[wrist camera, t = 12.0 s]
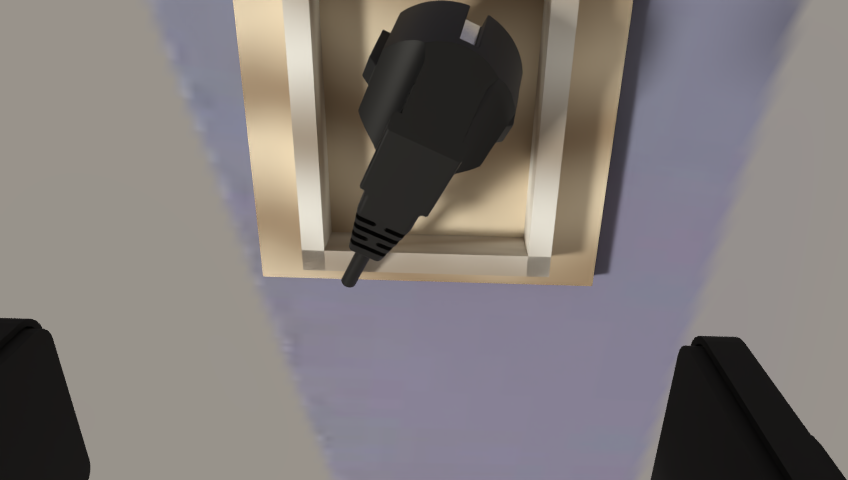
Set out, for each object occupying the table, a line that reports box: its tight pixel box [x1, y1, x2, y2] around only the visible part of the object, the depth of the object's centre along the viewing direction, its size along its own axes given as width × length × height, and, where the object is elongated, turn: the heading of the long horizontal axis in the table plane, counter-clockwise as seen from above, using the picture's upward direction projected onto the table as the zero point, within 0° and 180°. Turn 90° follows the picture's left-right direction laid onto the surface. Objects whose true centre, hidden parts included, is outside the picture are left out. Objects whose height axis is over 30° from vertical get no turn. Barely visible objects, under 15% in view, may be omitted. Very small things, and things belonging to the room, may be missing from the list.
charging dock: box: [233, 0, 633, 286], centre depth 27 cm, size 16×16×3 cm
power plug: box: [341, 0, 523, 287], centre depth 25 cm, size 6×8×12 cm
